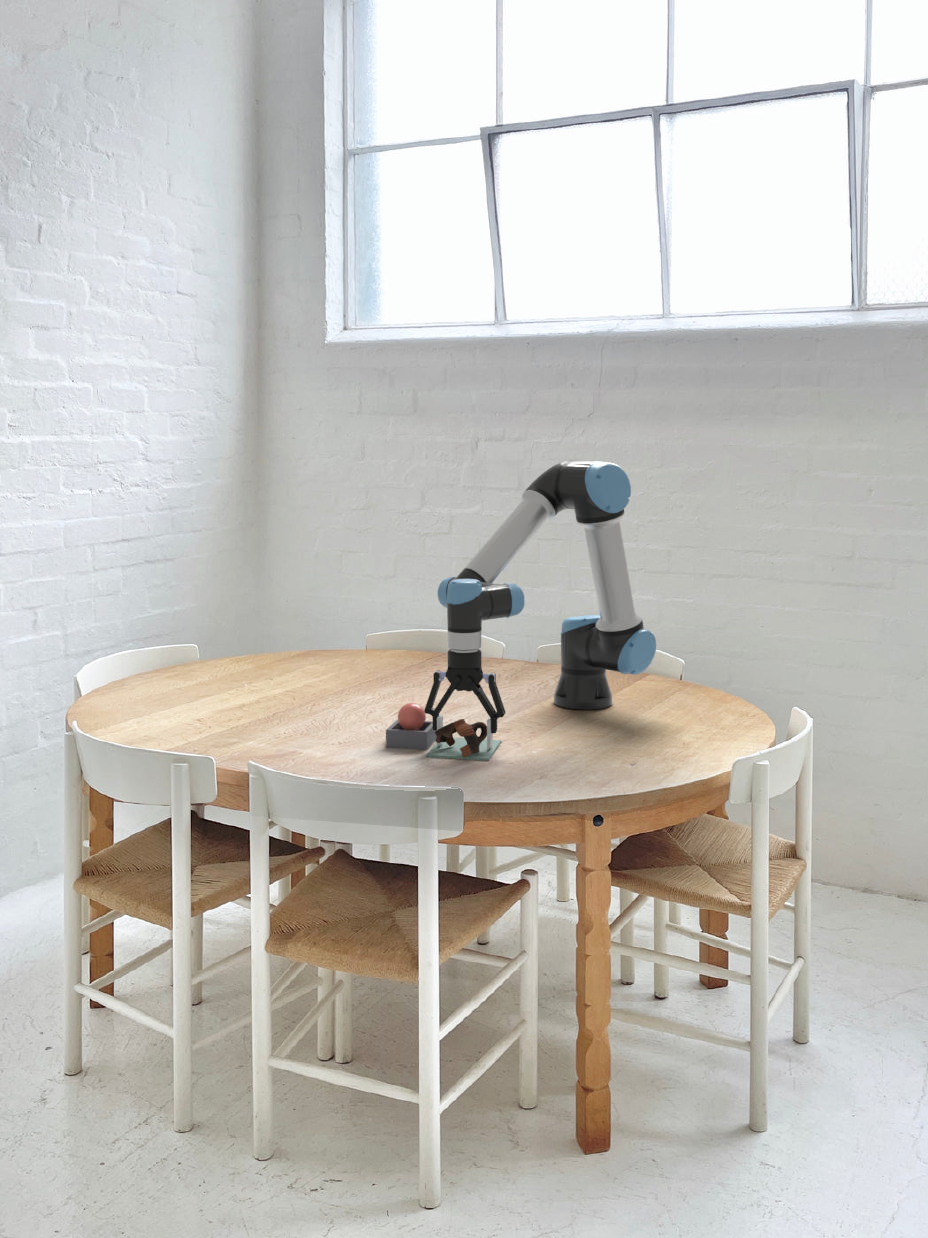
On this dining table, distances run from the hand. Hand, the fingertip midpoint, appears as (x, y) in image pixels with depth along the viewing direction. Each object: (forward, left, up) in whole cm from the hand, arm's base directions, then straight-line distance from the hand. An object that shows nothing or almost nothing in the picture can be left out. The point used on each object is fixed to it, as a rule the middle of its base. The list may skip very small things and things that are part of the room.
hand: (464, 745), depth 258 cm
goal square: (0, 0, -1) cm, 1 cm away
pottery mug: (0, +3, 0) cm, 3 cm away
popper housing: (+13, -3, -1) cm, 13 cm away
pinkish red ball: (+13, -3, +2) cm, 14 cm away
